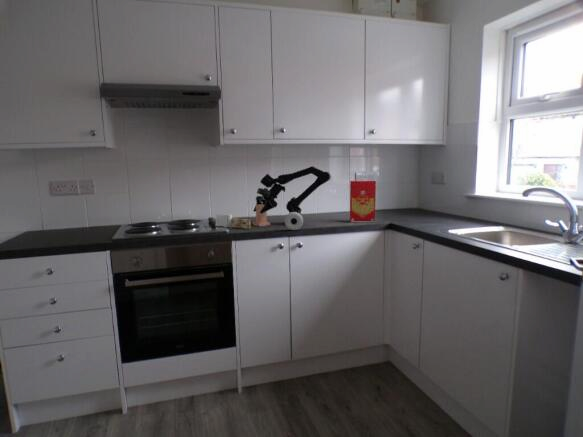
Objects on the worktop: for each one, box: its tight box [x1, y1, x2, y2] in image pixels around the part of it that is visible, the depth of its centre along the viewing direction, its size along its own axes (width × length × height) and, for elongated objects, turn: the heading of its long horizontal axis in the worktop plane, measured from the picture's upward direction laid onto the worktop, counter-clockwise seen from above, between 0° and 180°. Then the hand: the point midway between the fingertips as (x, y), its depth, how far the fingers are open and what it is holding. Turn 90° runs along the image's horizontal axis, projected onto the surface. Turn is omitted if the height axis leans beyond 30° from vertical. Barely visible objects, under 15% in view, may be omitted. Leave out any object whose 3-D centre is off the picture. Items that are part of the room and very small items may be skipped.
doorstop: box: [252, 204, 271, 227], centre depth 218 cm, size 8×8×12 cm
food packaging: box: [349, 180, 377, 222], centre depth 226 cm, size 15×5×25 cm, turn 85°
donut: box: [284, 212, 304, 231], centre depth 199 cm, size 10×3×10 cm, turn 90°
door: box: [231, 217, 252, 230], centre depth 207 cm, size 12×2×5 cm, turn 59°
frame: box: [215, 213, 233, 228], centre depth 212 cm, size 10×2×7 cm, turn 70°
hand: (257, 212), depth 216 cm, fingers open, 9 cm apart
